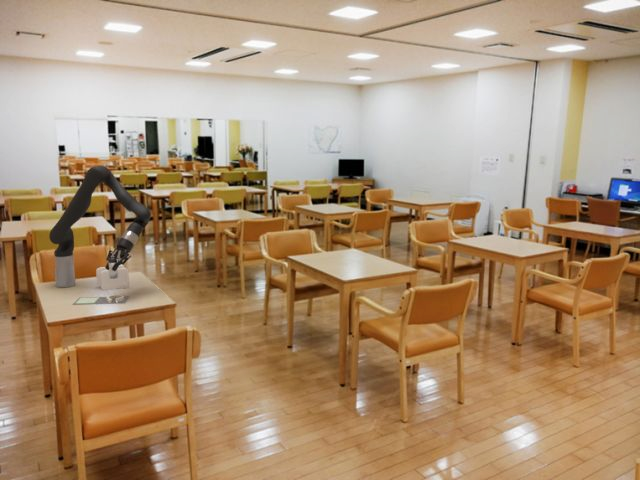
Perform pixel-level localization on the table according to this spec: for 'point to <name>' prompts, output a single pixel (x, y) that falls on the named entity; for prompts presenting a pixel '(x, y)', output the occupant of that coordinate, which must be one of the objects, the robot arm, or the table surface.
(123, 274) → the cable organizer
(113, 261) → the clear glass bottle
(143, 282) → the table surface
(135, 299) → the table surface
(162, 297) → the table surface
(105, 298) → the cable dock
